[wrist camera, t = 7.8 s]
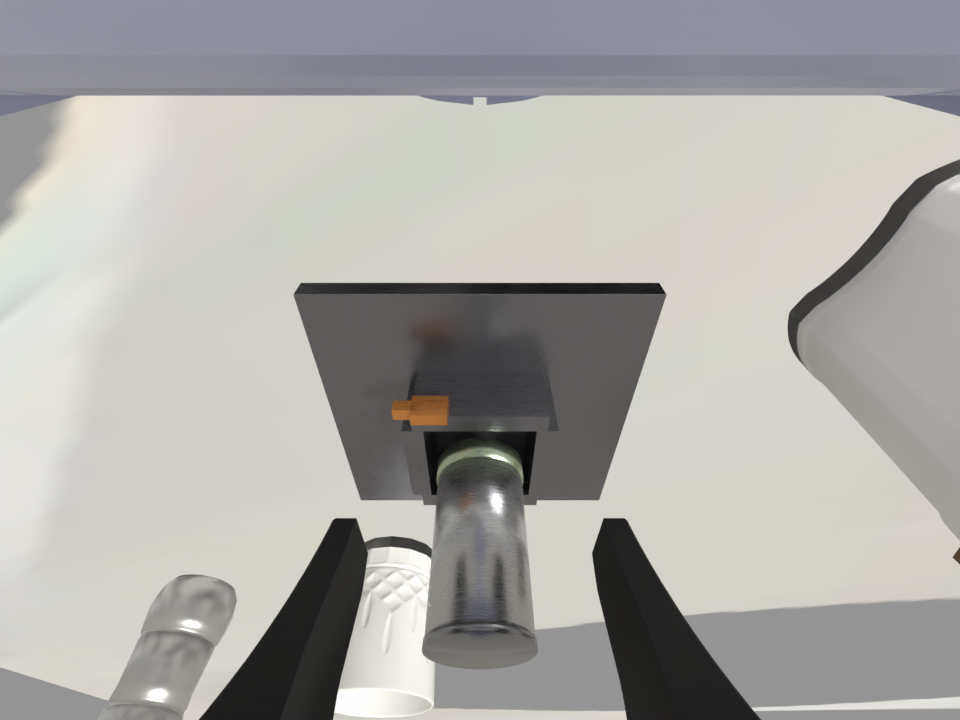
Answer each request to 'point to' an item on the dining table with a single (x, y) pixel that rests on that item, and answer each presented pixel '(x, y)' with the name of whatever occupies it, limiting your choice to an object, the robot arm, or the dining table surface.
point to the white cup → (390, 635)
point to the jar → (898, 337)
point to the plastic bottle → (173, 649)
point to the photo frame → (957, 556)
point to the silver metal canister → (479, 561)
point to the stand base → (479, 376)
